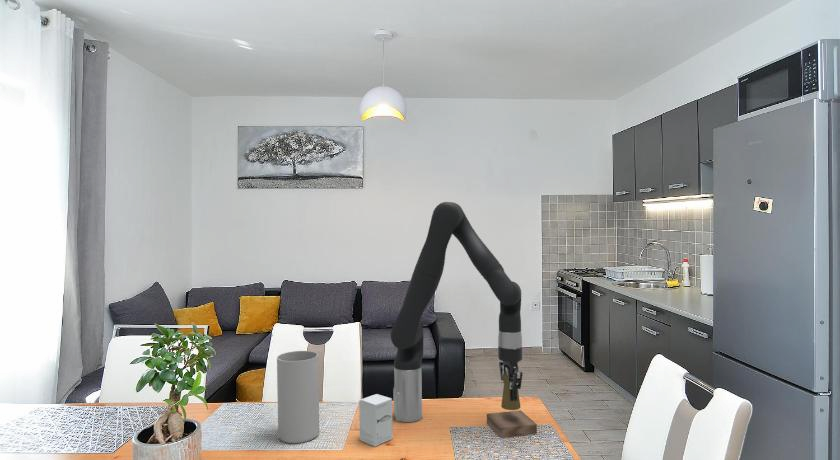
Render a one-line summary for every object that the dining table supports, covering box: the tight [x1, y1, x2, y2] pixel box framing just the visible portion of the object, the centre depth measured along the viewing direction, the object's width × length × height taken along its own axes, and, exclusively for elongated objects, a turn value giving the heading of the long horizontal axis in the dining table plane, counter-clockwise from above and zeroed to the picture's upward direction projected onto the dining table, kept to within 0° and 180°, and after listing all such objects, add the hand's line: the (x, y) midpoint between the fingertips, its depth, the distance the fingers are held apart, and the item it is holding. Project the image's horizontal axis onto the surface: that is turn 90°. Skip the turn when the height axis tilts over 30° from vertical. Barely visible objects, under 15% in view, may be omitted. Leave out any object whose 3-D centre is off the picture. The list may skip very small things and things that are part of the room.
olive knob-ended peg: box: [500, 372, 521, 411], centre depth 162 cm, size 6×6×11 cm
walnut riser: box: [486, 409, 538, 439], centre depth 163 cm, size 12×12×3 cm
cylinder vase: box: [276, 350, 320, 444], centre depth 159 cm, size 12×12×25 cm
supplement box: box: [358, 393, 393, 448], centre depth 155 cm, size 7×7×13 cm
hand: (510, 398), depth 162 cm, fingers closed on olive knob-ended peg, 4 cm apart
